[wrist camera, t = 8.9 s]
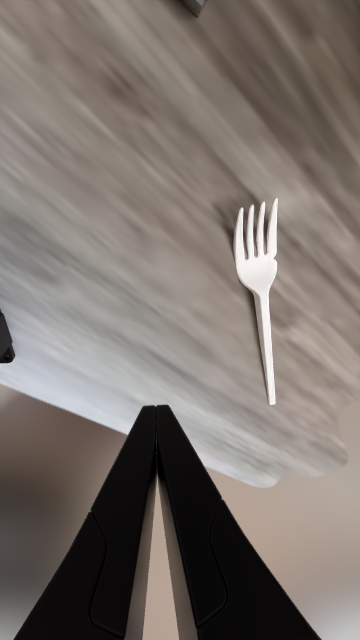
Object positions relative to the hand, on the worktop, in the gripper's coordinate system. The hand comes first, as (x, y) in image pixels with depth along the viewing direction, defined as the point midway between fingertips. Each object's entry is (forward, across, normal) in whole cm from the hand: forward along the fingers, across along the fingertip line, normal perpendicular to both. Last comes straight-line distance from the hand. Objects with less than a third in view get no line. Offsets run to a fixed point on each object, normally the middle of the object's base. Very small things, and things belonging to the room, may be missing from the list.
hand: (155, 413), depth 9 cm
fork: (+13, -9, +4) cm, 16 cm away
